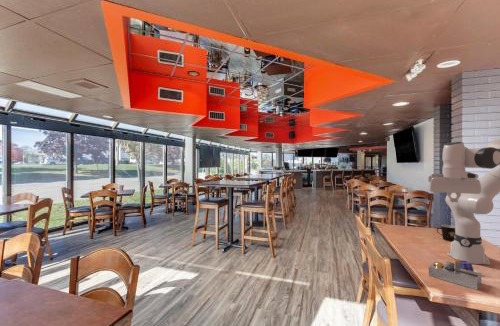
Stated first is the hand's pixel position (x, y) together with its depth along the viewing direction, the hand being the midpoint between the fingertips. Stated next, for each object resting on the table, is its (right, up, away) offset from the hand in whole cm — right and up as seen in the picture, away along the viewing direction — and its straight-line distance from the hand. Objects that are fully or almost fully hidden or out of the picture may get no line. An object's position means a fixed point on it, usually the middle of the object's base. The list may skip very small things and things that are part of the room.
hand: (453, 201), depth 122 cm
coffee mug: (+43, -37, +58) cm, 81 cm away
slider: (-2, -32, -4) cm, 33 cm away
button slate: (-3, -33, -2) cm, 34 cm away
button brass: (-6, -35, +1) cm, 35 cm away
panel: (-3, -37, -2) cm, 37 cm away
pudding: (+10, -38, +5) cm, 39 cm away
